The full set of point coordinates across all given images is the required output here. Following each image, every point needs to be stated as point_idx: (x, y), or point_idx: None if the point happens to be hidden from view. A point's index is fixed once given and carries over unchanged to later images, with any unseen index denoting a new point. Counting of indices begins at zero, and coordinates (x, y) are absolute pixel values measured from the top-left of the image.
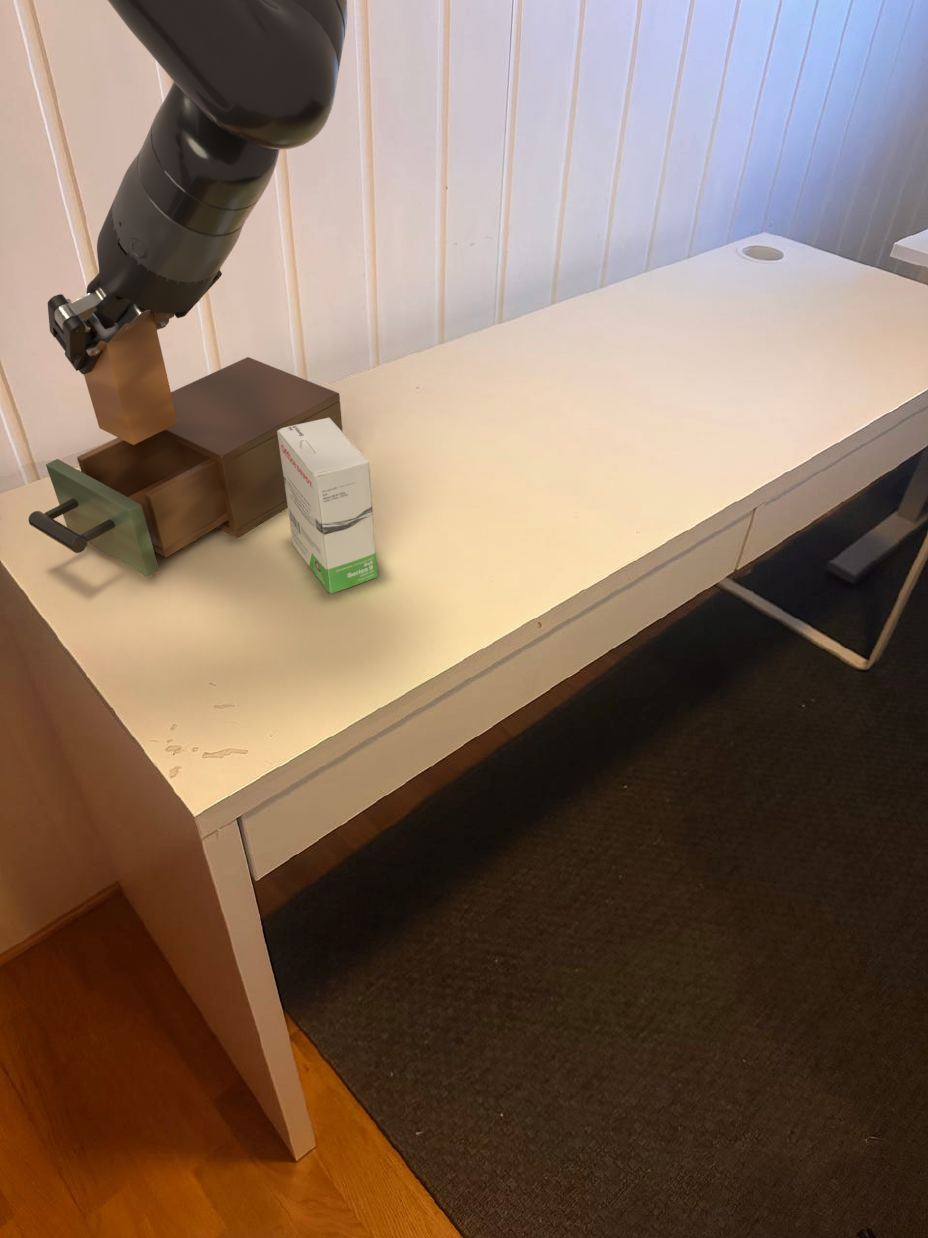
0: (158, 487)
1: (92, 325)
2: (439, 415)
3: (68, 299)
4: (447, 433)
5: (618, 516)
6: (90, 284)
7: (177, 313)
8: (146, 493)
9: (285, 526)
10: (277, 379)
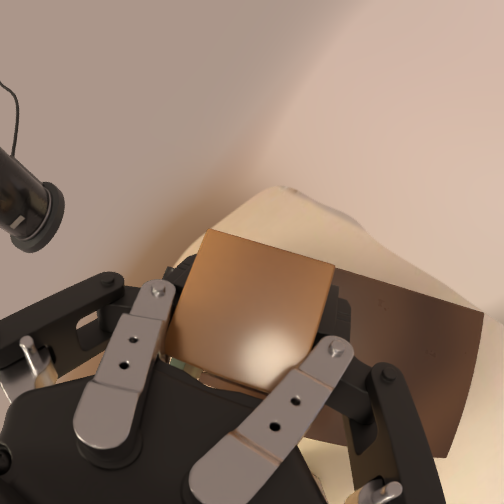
0: (215, 381)
1: (171, 319)
2: (497, 444)
3: (22, 347)
4: (475, 467)
5: None
6: (6, 414)
7: (343, 417)
8: (201, 375)
9: (309, 438)
10: (456, 380)
